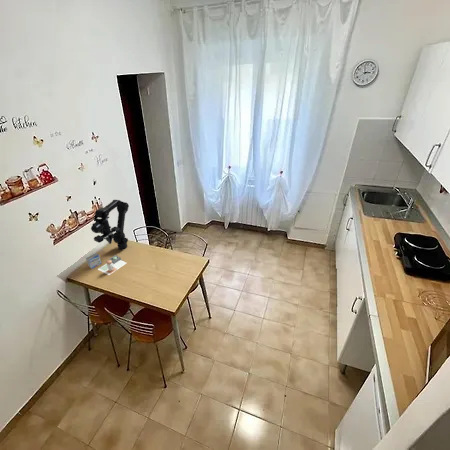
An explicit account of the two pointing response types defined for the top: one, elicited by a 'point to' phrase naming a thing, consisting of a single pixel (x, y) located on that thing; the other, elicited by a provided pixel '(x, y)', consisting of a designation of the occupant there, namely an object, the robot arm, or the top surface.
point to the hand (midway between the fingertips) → (110, 243)
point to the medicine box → (93, 260)
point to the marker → (110, 265)
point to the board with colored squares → (116, 264)
